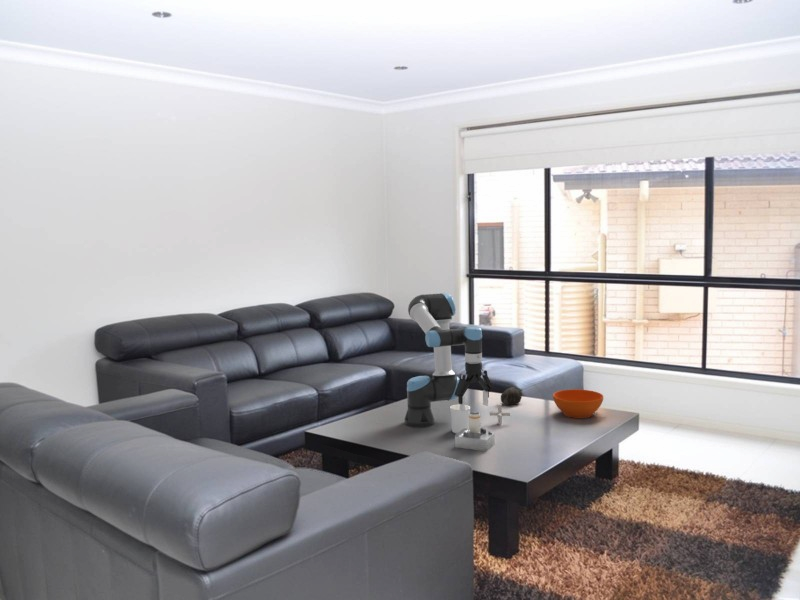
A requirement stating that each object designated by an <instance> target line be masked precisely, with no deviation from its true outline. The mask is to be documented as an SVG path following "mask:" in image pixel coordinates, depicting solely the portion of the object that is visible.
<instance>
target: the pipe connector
mask: <svg viewBox="0 0 800 600" xmlns="http://www.w3.org/2000/svg"><path fill="white" fill-rule="evenodd" d="M502 405H503V403H497V411H489V416H497V423H498V424H497V425H502V424H503V417H507V416H508V417H510V416H511V412H510V411H503V409H502V408H503V407H502Z"/></svg>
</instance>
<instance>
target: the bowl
mask: <svg viewBox="0 0 800 600" xmlns="http://www.w3.org/2000/svg"><path fill="white" fill-rule="evenodd" d="M552 398H553V401H554V404H555V405H556V407H557V408H558V410H560V411H561V412H562V413H563V414H564V416H565V417H570V418H574V419H585V418H590V417H592V416H593V415H594V414H595V413H596V412H597V410H598V409H599V408H600V407H601V405H602V403H603V402H604V394H602V393H600V392H597V391H595V390H588V389H578V388H576V389H564V390H558V391H555V392H554V393H553V394H552ZM598 411H599V410H598Z"/></svg>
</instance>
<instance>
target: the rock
mask: <svg viewBox="0 0 800 600" xmlns="http://www.w3.org/2000/svg"><path fill="white" fill-rule="evenodd" d="M522 397H523V392H522V390H520V389H519V387H517V386H510V387H507V388H506V389H505V390H504V391H503V392H502V393H501V395H500V401H501V404H504V405H506V406H511V405H517V404H519V403H521V400H522Z"/></svg>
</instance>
